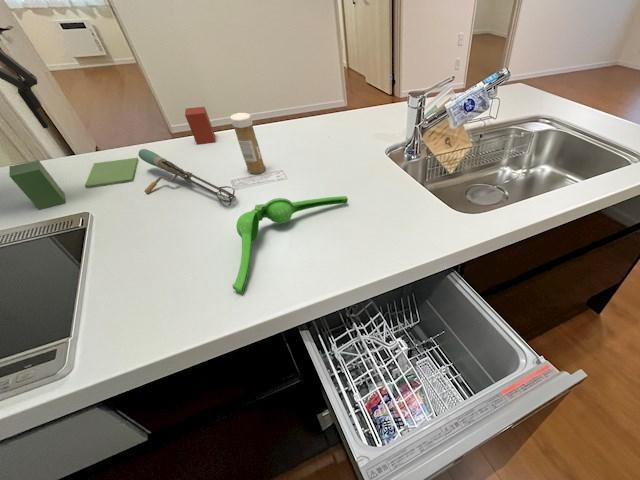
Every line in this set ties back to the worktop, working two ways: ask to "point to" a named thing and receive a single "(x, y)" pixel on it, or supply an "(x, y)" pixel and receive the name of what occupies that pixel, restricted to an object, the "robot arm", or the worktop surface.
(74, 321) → the worktop surface
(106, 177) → the sage mat
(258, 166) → the sprinkles bottle
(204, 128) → the red block
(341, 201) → the lime squeezer
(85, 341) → the worktop surface
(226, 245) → the worktop surface
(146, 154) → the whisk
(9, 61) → the robot arm
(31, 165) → the green block
